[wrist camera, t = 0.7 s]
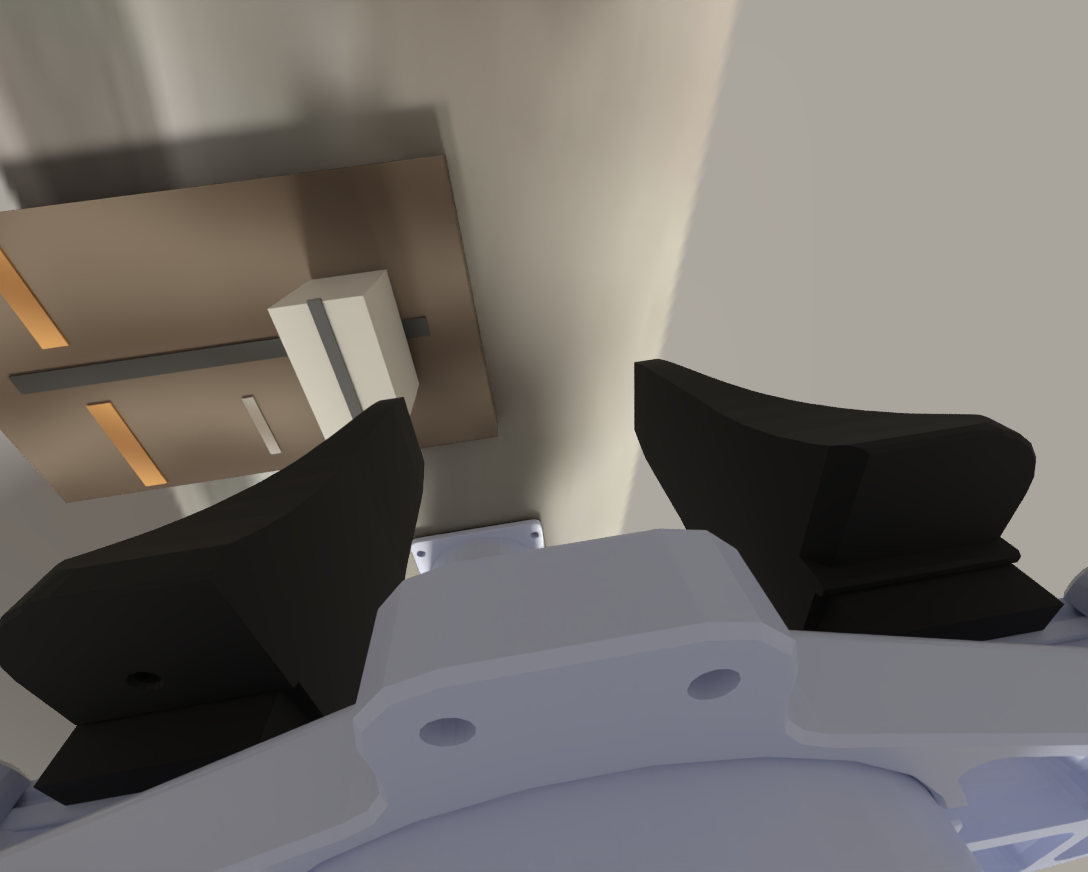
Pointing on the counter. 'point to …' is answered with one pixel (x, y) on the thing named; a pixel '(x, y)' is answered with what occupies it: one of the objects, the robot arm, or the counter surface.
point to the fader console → (219, 322)
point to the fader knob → (346, 345)
